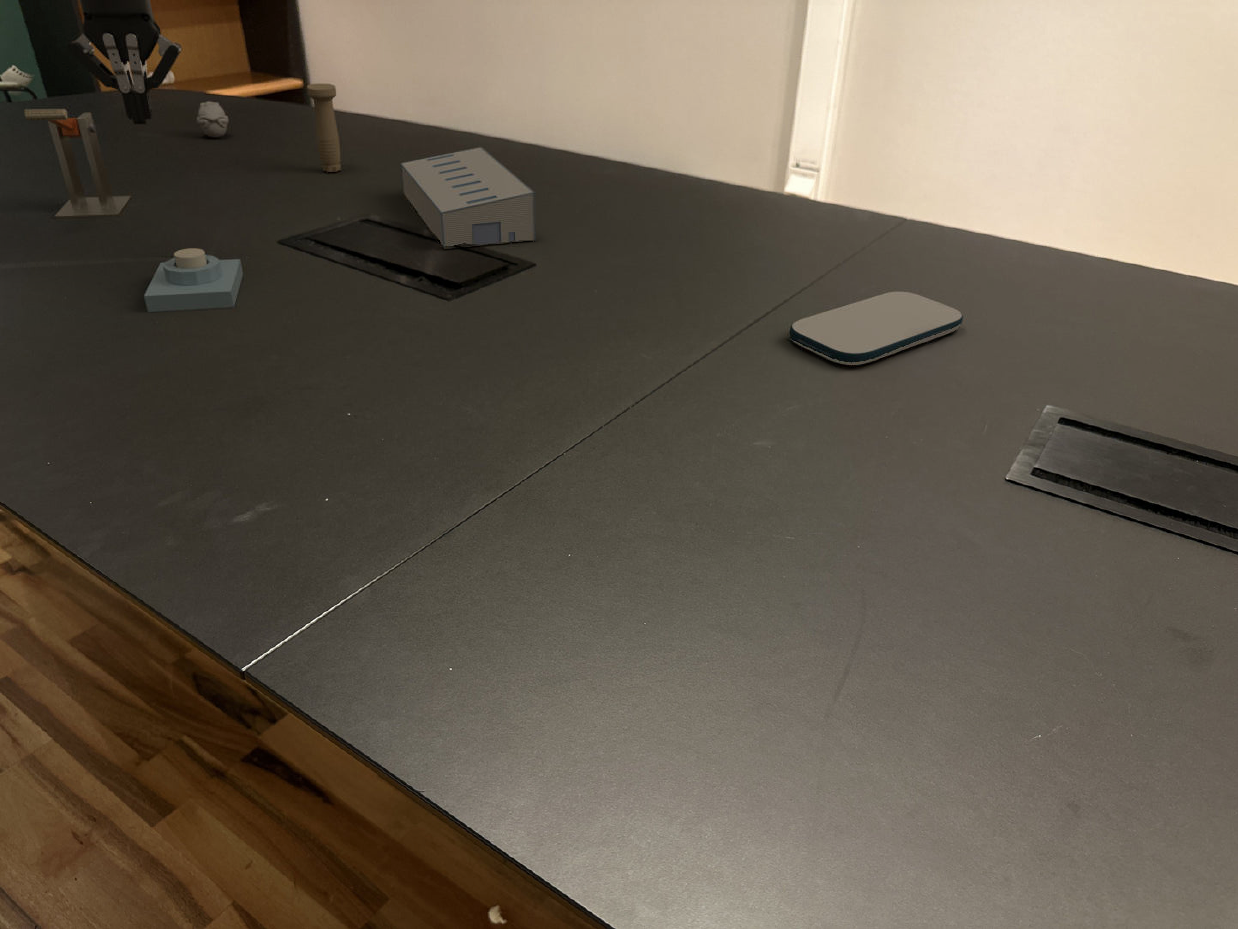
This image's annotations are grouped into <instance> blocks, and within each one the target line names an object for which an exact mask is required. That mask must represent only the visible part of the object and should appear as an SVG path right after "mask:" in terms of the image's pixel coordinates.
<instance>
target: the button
mask: <svg viewBox="0 0 1238 929" xmlns="http://www.w3.org/2000/svg"><path fill="white" fill-rule="evenodd" d="M205 252H206V251H205V250H204V249H202V248H193V247H192V248H191V247H190V248H183V249H180V250H177V251H175V252H174V253H173V258H175V262H176V266H177V268H183V269H189V268H197V267H202V266H205V265H207V261H206V256H205V255H206V253H205Z"/></svg>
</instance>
